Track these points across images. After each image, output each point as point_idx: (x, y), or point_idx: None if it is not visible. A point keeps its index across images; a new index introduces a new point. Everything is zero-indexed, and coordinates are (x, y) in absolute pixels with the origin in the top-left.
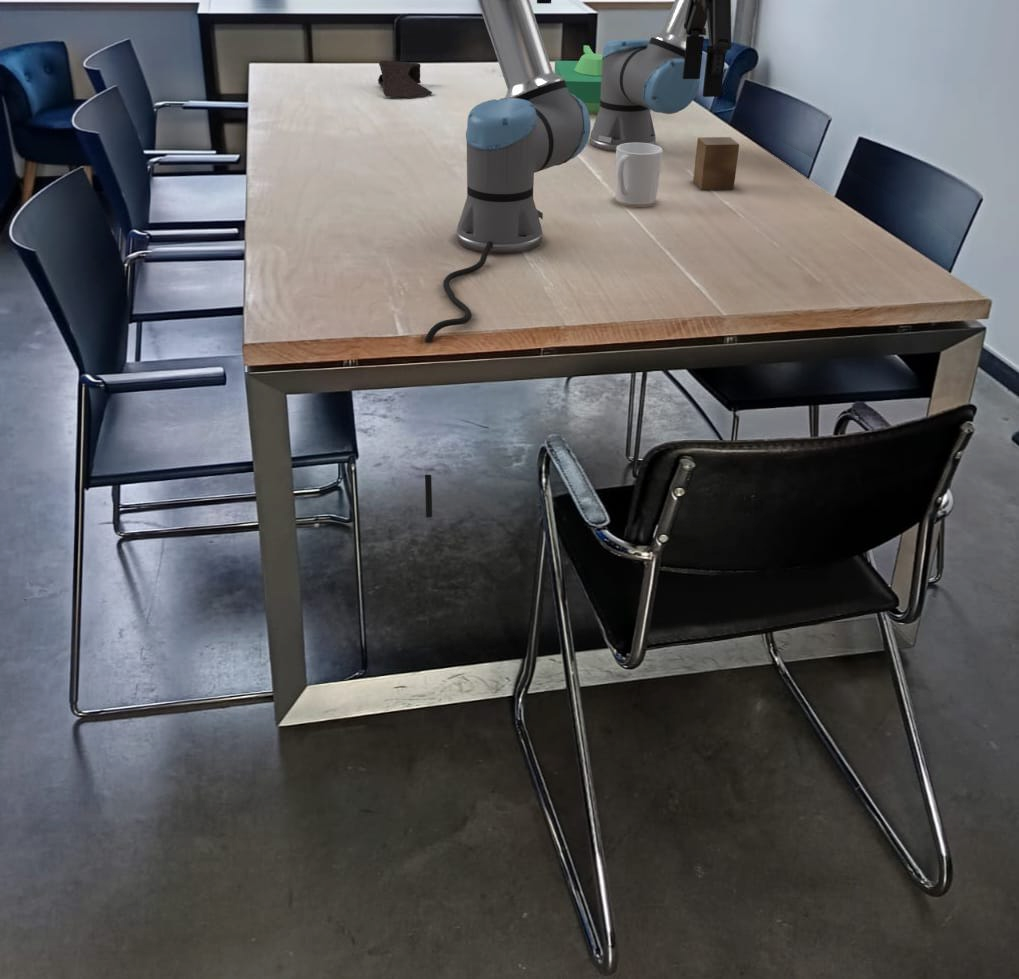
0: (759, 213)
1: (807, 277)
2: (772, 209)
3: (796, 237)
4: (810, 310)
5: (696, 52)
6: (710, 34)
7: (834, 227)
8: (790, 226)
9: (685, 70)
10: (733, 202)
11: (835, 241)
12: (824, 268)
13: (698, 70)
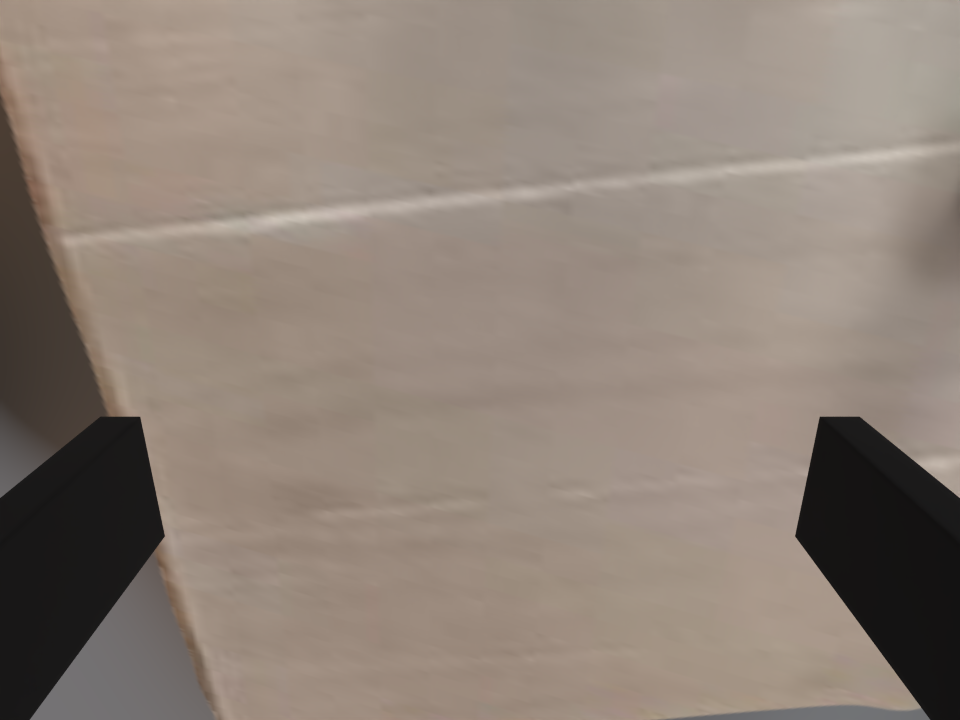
0: None
1: (341, 498)
2: None
3: (623, 553)
4: None
5: (937, 657)
6: None
7: (684, 649)
8: (708, 563)
9: (857, 460)
10: None
11: (584, 623)
12: (402, 549)
13: (833, 565)
